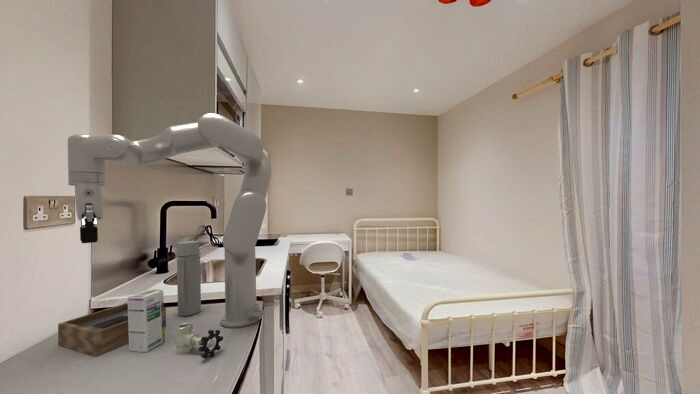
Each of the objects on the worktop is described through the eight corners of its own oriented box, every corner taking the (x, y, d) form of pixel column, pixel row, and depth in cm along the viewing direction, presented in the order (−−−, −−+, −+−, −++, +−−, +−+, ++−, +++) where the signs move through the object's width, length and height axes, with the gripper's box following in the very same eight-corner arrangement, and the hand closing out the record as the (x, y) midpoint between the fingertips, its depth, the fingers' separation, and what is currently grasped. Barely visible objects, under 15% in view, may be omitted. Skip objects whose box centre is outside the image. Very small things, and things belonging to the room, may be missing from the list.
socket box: (166, 327, 87) (165, 307, 87) (95, 357, 71) (95, 333, 71) (130, 319, 94) (129, 301, 94) (58, 345, 77) (58, 323, 78)
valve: (166, 355, 70) (201, 364, 66) (166, 329, 71) (200, 336, 66) (190, 343, 77) (223, 350, 72) (190, 319, 77) (223, 325, 72)
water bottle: (182, 309, 102) (181, 241, 102) (205, 308, 103) (204, 240, 103) (169, 320, 93) (168, 244, 93) (194, 318, 94) (193, 243, 94)
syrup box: (146, 352, 72) (145, 296, 72) (127, 351, 73) (127, 295, 74) (165, 341, 78) (164, 289, 78) (147, 340, 79) (146, 288, 79)
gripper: (108, 177, 74) (109, 241, 74) (102, 182, 87) (104, 238, 86) (68, 176, 69) (69, 245, 69) (68, 182, 81) (69, 241, 81)
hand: (88, 241), depth 78 cm, fingers open, 9 cm apart
